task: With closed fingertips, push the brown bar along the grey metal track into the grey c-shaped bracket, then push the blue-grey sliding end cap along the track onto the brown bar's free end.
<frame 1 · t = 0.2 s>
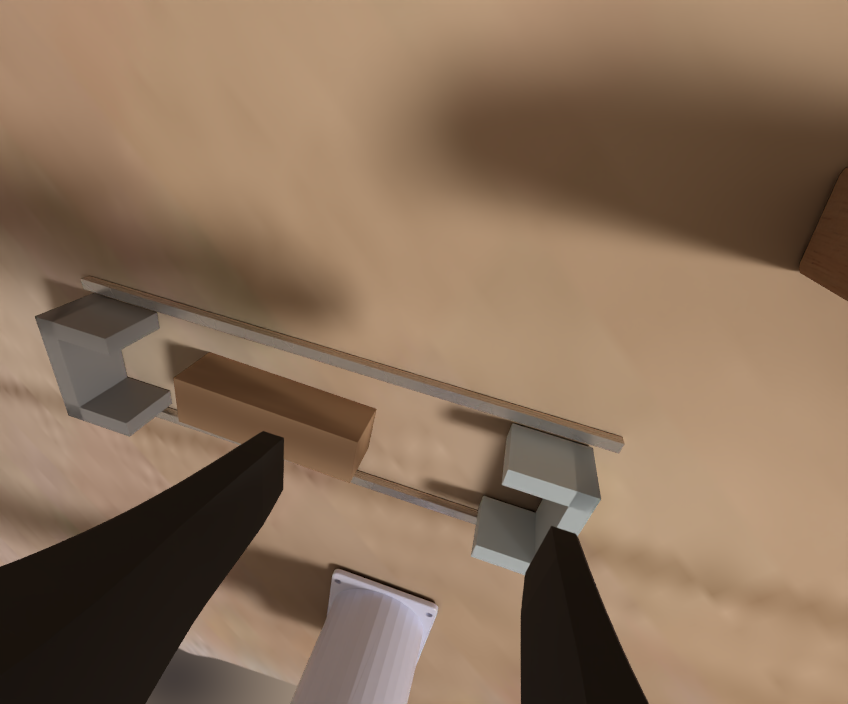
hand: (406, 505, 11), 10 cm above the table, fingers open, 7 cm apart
grey c-shaped bracket: (135, 351, 25), on the table
brown bar: (292, 398, 24), on the table
track: (330, 414, 23), on the table
cap B: (530, 503, 21), point 2 cm above the table, slide at 0.0 cm
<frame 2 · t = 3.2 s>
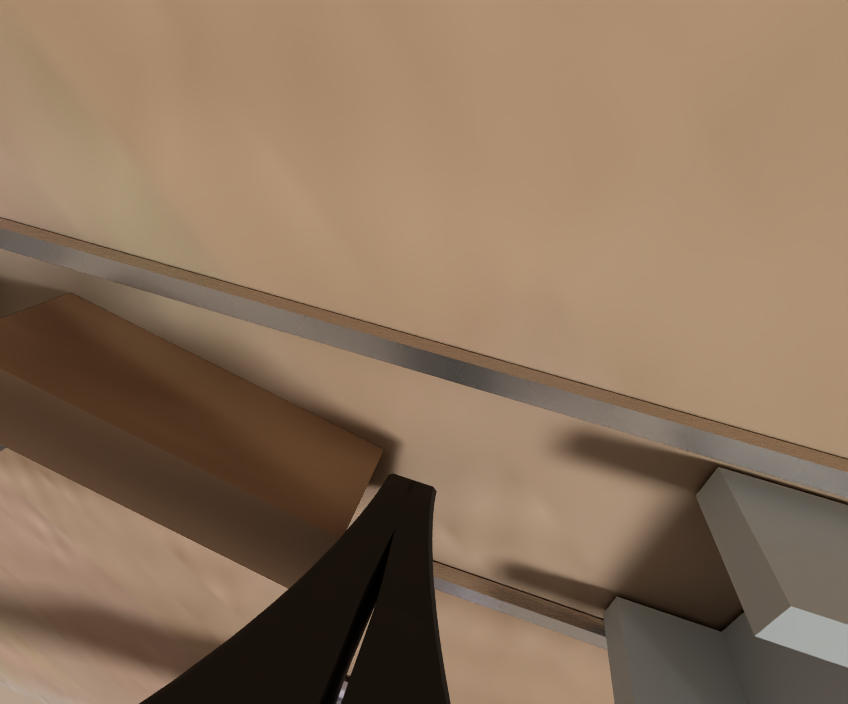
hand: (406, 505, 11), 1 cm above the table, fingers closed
brown bar: (220, 407, 13), on the table, touching gripper
track: (324, 442, 12), on the table
cap B: (756, 641, 10), point 2 cm above the table, slide at 0.0 cm
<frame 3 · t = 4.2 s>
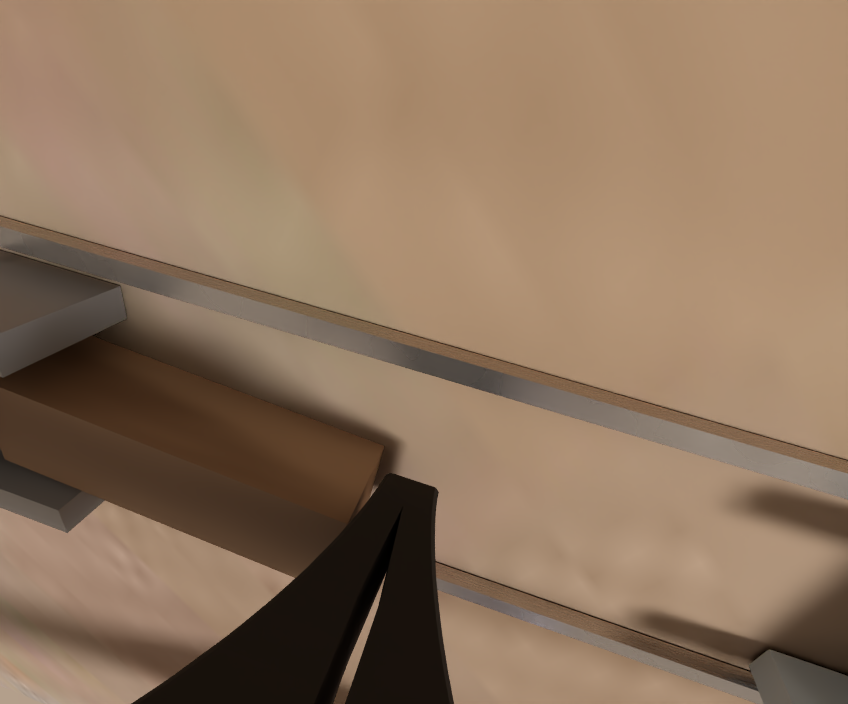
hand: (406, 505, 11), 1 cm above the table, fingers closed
grey c-shaped bracket: (84, 364, 13), on the table
brown bar: (231, 417, 13), on the table, touching gripper
track: (466, 488, 12), on the table
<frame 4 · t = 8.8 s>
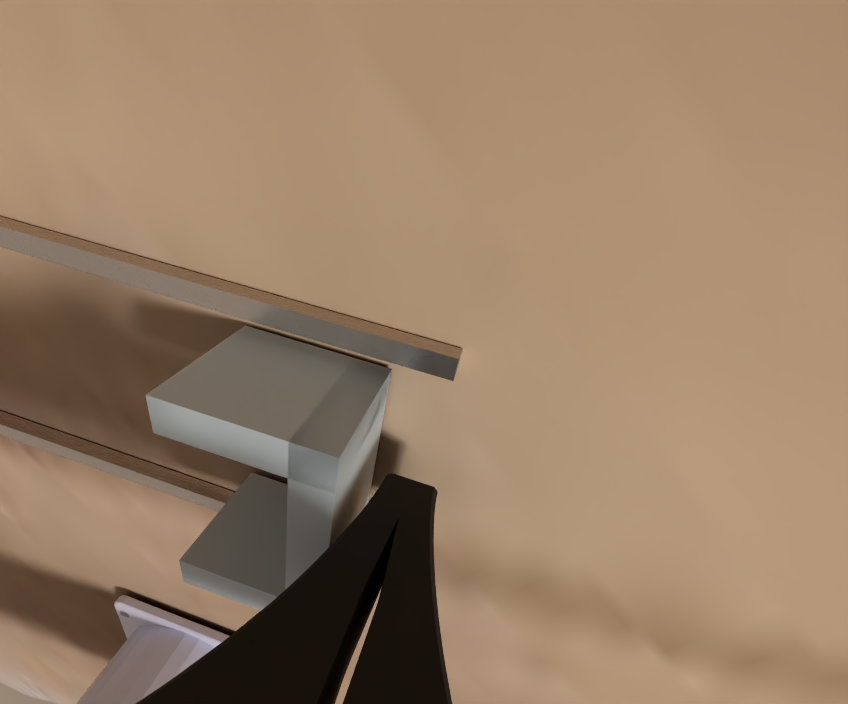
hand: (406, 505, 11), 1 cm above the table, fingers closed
cap B: (282, 480, 11), point 2 cm above the table, slide at 0.6 cm, touching gripper
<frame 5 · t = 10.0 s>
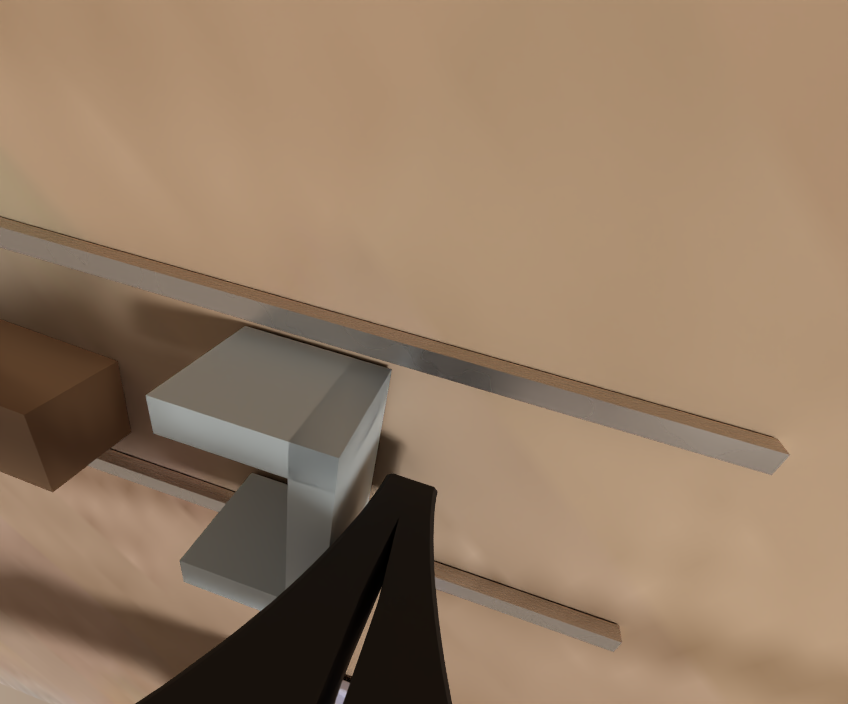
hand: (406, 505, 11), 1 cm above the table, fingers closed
brown bar: (1, 346, 14), on the table
track: (193, 399, 13), on the table
cap B: (282, 480, 11), point 2 cm above the table, slide at 7.6 cm, touching gripper
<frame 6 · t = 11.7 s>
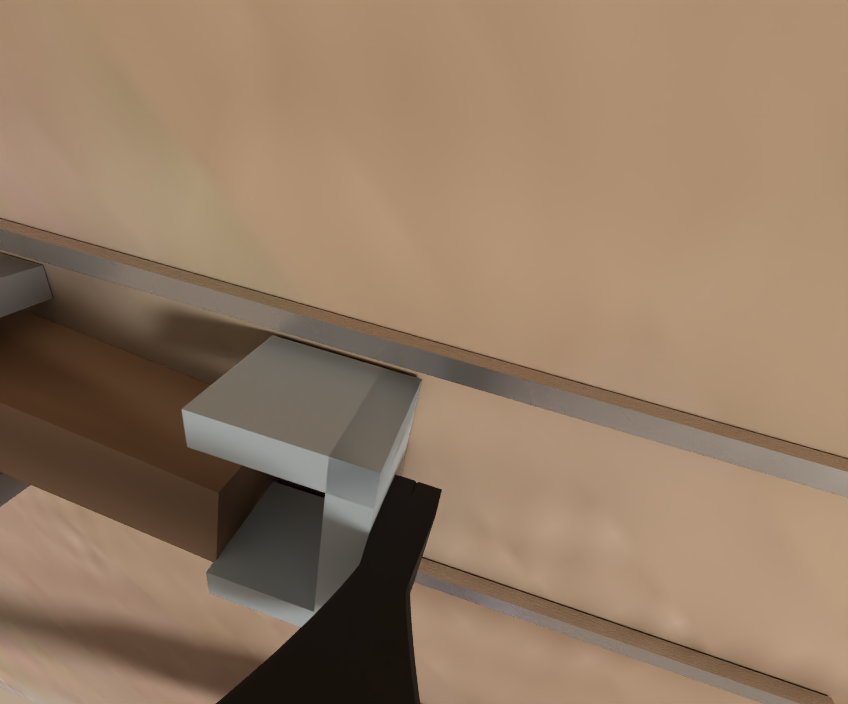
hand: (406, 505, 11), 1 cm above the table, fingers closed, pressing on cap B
grey c-shaped bracket: (18, 345, 13), on the table
brown bar: (135, 391, 13), on the table, touching grey c-shaped bracket, cap B
track: (388, 463, 12), on the table
cap B: (310, 491, 11), point 2 cm above the table, slide at 13.1 cm, touching gripper, brown bar
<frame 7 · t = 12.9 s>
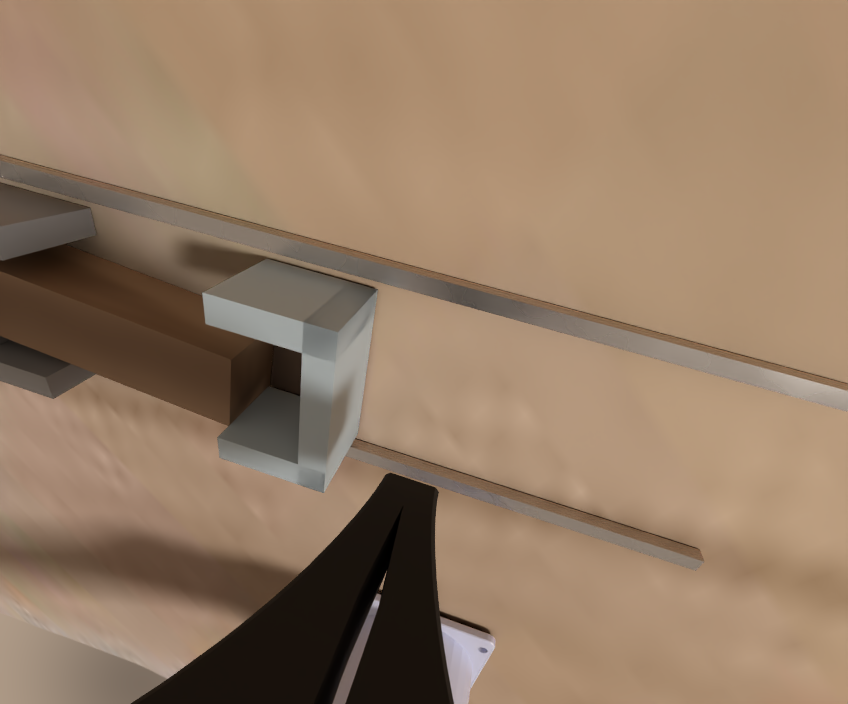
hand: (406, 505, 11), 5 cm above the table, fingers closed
grey c-shaped bracket: (66, 277, 17), on the table
brown bar: (164, 309, 17), on the table
track: (354, 364, 16), on the table
cap B: (295, 376, 14), point 2 cm above the table, slide at 13.0 cm
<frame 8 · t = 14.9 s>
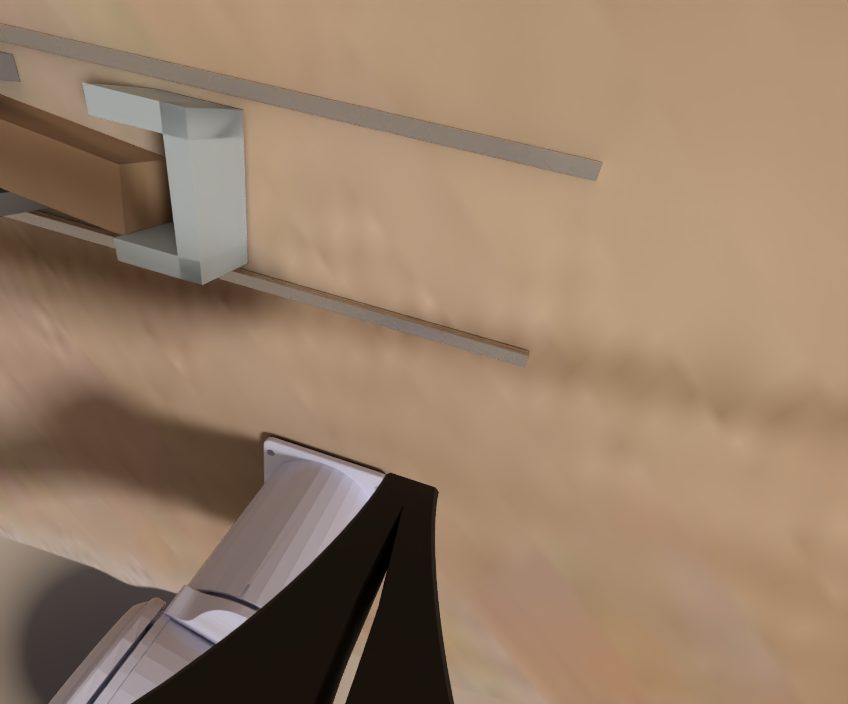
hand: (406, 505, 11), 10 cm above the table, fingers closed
brown bar: (82, 155, 20), on the table
track: (236, 190, 19), on the table
cap B: (178, 187, 17), point 2 cm above the table, slide at 13.0 cm
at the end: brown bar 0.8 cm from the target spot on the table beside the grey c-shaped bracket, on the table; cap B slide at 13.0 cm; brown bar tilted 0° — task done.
